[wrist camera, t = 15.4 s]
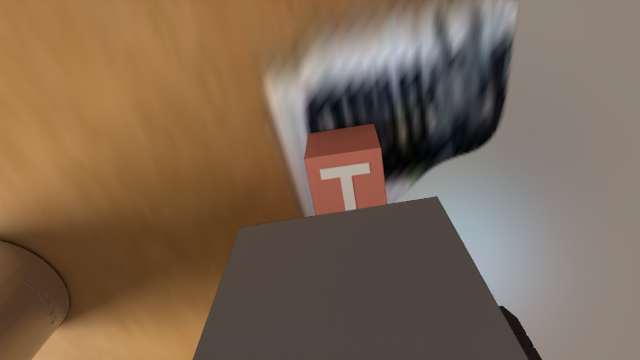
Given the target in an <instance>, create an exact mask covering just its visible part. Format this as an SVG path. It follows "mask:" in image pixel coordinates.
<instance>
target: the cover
mask: <svg viewBox="0 0 640 360" xmlns="http://www.w3.org/2000/svg"><path fill="white" fill-rule="evenodd" d="M193 360H528V358H527V356H526V354H525V353H524V351H523V349H522V347H521V346H520V344H519V342H518V340H517V338H516V337H515V335H514V333H513V331H512V329H511V328H510V326H509V324H508V322H507V321H506V319H505V317H504V315H503V313H502V312H501V310H500V308H499V306H498V304H497V303H496V301H495V299H494V297H493V295H492V294H491V292H490V290H489V288H488V287H487V285H486V283H485V281H484V279H483V278H482V276H481V274H480V272H479V270H478V269H477V267H476V265H475V263H474V261H473V260H472V258H471V256H470V254H469V253H468V251H467V249H466V247H465V245H464V244H463V242H462V240H461V238H460V236H459V235H458V233H457V231H456V229H455V227H454V226H453V224H452V222H451V221H450V219H449V217H448V215H447V213H446V211H445V210H444V208H443V206H442V204H441V203H440V201H439V199H438V197H431V198H424V199H419V200H411V201H406V202H399V203H392V204H386V205H380V206H373V207H367V208H360V209H354V210H348V211H341V212H335V213H328V214H322V215H316V216H309V217H303V218H297V219H290V220H284V221H277V222H271V223H265V224H258V225H252V226H246V227H240V229H239V231H238V234H237V237H236V240H235V243H234V245H233V248H232V251H231V254H230V257H229V259H228V262H227V265H226V268H225V271H224V273H223V276H222V279H221V282H220V284H219V287H218V290H217V293H216V296H215V298H214V301H213V304H212V307H211V310H210V312H209V315H208V318H207V321H206V324H205V326H204V329H203V332H202V335H201V338H200V340H199V343H198V346H197V349H196V352H195V354H194V357H193Z"/></svg>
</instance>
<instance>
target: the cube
mask: <svg viewBox="0 0 640 360" xmlns="http://www.w3.org/2000/svg"><path fill="white" fill-rule="evenodd" d="M304 160H305V165H306V170H307V175H308V180H309V185H310V190H311V195H312V199H313V204H314V209H315V214H316V215H322V214H328V213H335V212H341V211H348V210H354V209H360V208H367V207H373V206H380V205H386V204H387V199H386V190H385V181H384V172H383V163H382V153H381V146H380V143H379V140H378V137H377V133H376V130H375V127H374V124H368V125H362V126H355V127H349V128H342V129H336V130H329V131H323V132H316V133H310V134H308V139H307V145H306V151H305V157H304Z"/></svg>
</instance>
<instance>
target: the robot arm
mask: <svg viewBox="0 0 640 360" xmlns="http://www.w3.org/2000/svg"><path fill="white" fill-rule="evenodd" d="M499 308H500V310H501V312H502V313H503V315H504V317H505V319H506V321H507V322H508V324H509V326H510V328H511V329H512V331H513V333H514V335H515V337H516V338H517V340H518V342H519V344H520V346H521V347H522V349H523V351H524V353H525V354H526V356H527V358H528V360H542V359H541V357H540V356H539V354H538V352H537V350H536V349H535V348H534V347H533V344H532V342H531V340H530V339H529V337H528V336H527V335H526V332H525V330H524V329H523V327H522V325H521V324H520V322H519V320H518V319H517V317H515V316H514V315H513V314H512V313H511V312H509V311H508V310H507V309H506V308H504V307H503V306H499ZM68 310H69V297H68V292H67V289H66V287H65V285H64V283H63V281H62V280H61V278H60V277H59V276H58V274H57V273H56V272H55V271H54V270H53V269H52V268H51V267H50V266H49V265H48V264H47V263H46V262H45V261H43V260H42V259H40V258H39V257H37V256H36V255H35V254H33V253H31V252H29V251H27V250H25V249H23V248H21V247H19V246H16V245H13V244H10V243H7V242H2V241H0V360H32V358H33V357H34V356H35V354H36V353H37V352H38V351H39V350H40V348H41V347H42V346H43V345H44V343H45V342H46V341H47V340H48V338H49V337H50V336H51V335H52V333H53V332H54V331H55V330H56V328H57V327H58V326H59V325H60V323H61V322H62V321H63V320H64V319H65V317H66V315H67V312H68Z"/></svg>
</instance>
